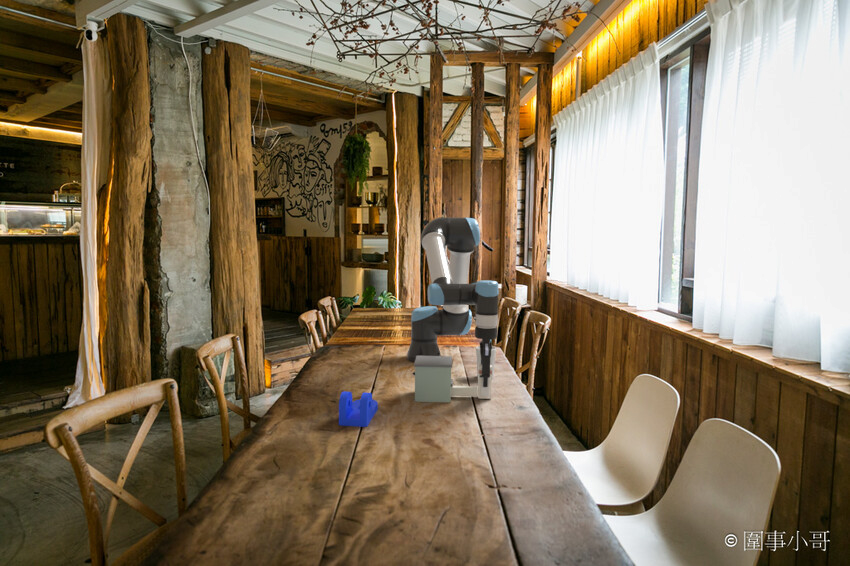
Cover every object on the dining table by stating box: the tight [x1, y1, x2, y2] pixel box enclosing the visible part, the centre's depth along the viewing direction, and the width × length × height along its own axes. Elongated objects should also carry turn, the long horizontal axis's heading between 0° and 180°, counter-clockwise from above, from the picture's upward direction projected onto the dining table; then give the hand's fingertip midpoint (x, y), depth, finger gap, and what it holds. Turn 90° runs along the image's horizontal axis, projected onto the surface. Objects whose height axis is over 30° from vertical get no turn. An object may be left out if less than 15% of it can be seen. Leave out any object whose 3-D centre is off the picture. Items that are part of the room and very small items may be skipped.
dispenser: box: [413, 355, 454, 404], centre depth 164 cm, size 13×12×13 cm
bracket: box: [338, 391, 379, 428], centre depth 147 cm, size 18×8×9 cm, turn 173°
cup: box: [475, 345, 497, 380], centre depth 187 cm, size 8×8×12 cm
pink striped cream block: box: [451, 365, 493, 400], centre depth 164 cm, size 14×3×11 cm, turn 87°
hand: (484, 393), depth 164 cm, fingers closed on pink striped cream block, 3 cm apart
